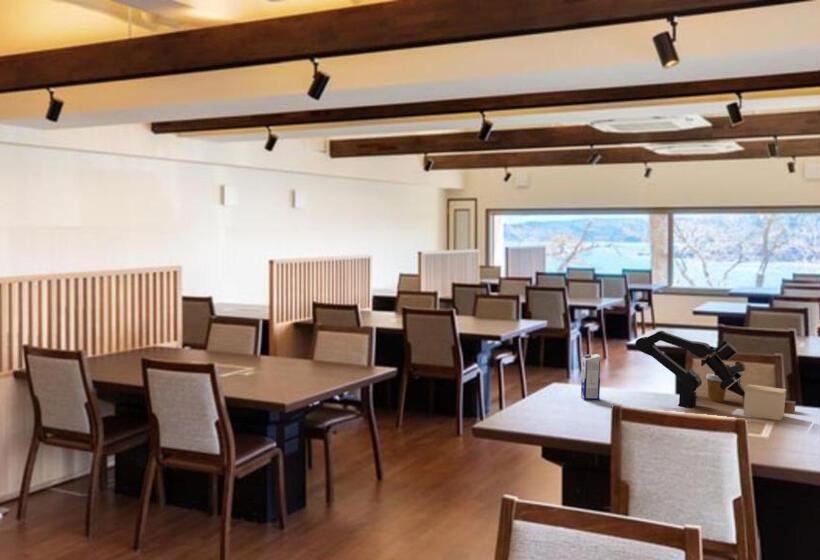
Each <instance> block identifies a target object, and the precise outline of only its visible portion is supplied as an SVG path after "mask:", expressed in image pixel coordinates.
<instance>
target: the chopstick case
mask: <svg viewBox="0 0 820 560" xmlns="http://www.w3.org/2000/svg"><path fill="white" fill-rule="evenodd" d="M741 399H742V403H741V407H742V408H744V399H745V397H743V396H741ZM796 403H797V401H795V400H786V399H785V407H784V413H787V414H794V413H795V412H796Z"/></svg>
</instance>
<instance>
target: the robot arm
mask: <svg viewBox="0 0 820 560" xmlns="http://www.w3.org/2000/svg"><path fill="white" fill-rule="evenodd" d="M661 341H662V342H663V343H667V344H670V345H672V346H676V347H678V348H680V349H683V350H686V351H688V352H689V353H691V354H692V355H694V356H695V357H698V358H702V359H701V360H700V367H703V366H705V365H706V366H708V368H709V370H712V373H715V374H714V375H715V376H718V377H719V378H720V379H721V381H722V383H721V384H720V388H721V389H722V390H725V389H726V391H727V390H728V391H730V392H732V393H734V394H736V395H738V396H741V397H745V391H744V390H745V388H744V387H743V385H742V384H741V381H742V376H744V375H743V374H742V372H744V371H746V370H747V368H746V365H745V364H744V362H743V361H742V362H741V361H740V360H738V361H735V364H734V365H731V366H730V365H729V364H725V362H724V361H729V360H730V359H731V358H732V357H733V356H735V355H736V354H738V353H739V352H738V350H737V348H736V347H735V346H734V345H733V344H732V343H730V342H728V340H724V341H723V342H722V343H721V344H720V345H718V346H717V347H716V346H712V345H710V344H708V343H707V342H701V341H695V340H694V341H693V340H689V339H686V338H683V337H680V336H677V335H674V334H671V333H669V332H666V331H664V330H660V331H659V330H658V331H657V332H655V333H653V334H651V335H649V336H643V337H639V338H637V339H636V340H635V343H634V345H635V348H636V349H637V350H638V352H639V351H640V353H643V354H645V355H648V356H650V357H652V358H653V359H654V360H656V361H657V362H658V363H659V364H661V365H662V366H664V367H665V369H667V370H668V371H670V372H671V373H672V374H673V375H675V376H676V377H677V378H678V379H679V381H680V383H681V384H682V385H681V386H678V390H679V396H678V397H679V398H678V401H679V402H678V404H677V406H678V407H684V408H691V409H694V408H696V407H697V405H698V396H697V389H699V388H700V387H701V386H702V378H701V376H700V374H698V373H696V372H695V370H694V369H691V368H690V369H689V370H686V369H684V367H682V366H681V365H680V364H678V363H677V362H675V361H674V360H673V359H672V358H671V357H669V356H668V355H667V354H665V353H664V352H663V351H662V350H661V349H660V348H658V346H657V344H656V343H659V342H661ZM704 357H706V358H705V359H704Z"/></svg>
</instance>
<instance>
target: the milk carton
mask: <svg viewBox="0 0 820 560" xmlns="http://www.w3.org/2000/svg"><path fill="white" fill-rule="evenodd" d="M581 359H582V360H581V362H582V363H581V385H580V386H581V387H580V389H581V390H580V398H581V399H582V400H583V401H593V402H594V401H597V402H598V401H599V402H600V393H601V387H600V386H601V363H602V356H601V355H600V354H598V353H595V354H590V353H588V354H585V355H584V356H583V357H582V358H581Z"/></svg>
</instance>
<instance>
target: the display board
mask: <svg viewBox="0 0 820 560" xmlns="http://www.w3.org/2000/svg"><path fill="white" fill-rule="evenodd" d="M743 413H744V408H743V409H742V408H736V409H734V411H733V412H732V413H731V415H733V416H734V415H735V416H741V417H749V418H753V419H754V418H755V419H762V420H763V419H764V418H763V417H756V416H749V415H743Z"/></svg>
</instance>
